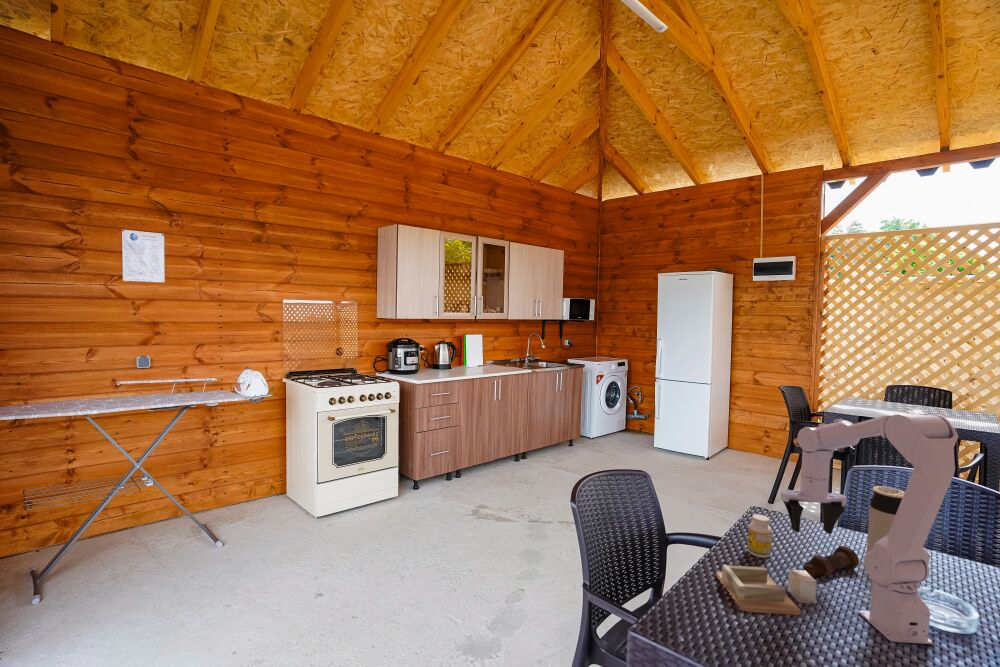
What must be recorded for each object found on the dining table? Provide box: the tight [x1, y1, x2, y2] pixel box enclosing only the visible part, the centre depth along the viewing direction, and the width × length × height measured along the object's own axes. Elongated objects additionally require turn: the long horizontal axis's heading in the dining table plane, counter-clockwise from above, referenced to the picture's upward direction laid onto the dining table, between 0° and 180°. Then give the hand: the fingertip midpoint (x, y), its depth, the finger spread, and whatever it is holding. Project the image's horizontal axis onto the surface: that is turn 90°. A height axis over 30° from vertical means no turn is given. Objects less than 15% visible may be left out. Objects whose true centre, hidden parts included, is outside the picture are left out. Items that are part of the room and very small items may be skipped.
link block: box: [787, 569, 818, 604], centre depth 111 cm, size 4×4×5 cm
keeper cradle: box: [715, 564, 802, 616], centre depth 112 cm, size 14×12×4 cm
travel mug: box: [866, 485, 905, 553], centre depth 131 cm, size 8×8×18 cm
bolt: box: [803, 545, 860, 578], centre depth 123 cm, size 6×5×15 cm
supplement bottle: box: [747, 513, 773, 559], centre depth 131 cm, size 5×5×10 cm
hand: (811, 531), depth 122 cm, fingers open, 7 cm apart
